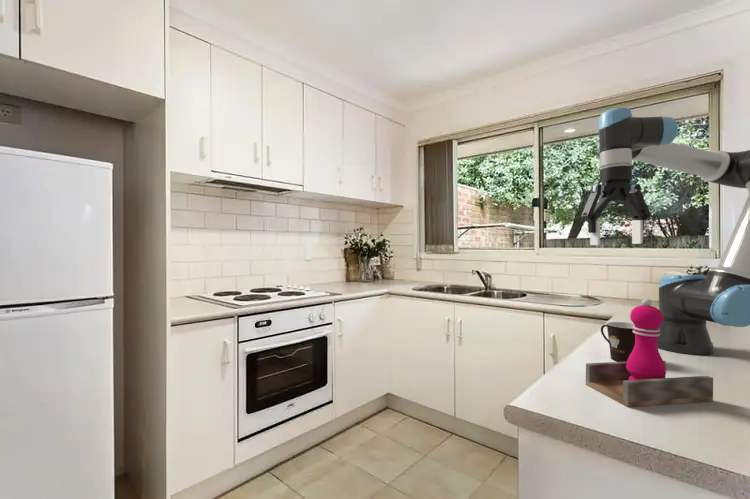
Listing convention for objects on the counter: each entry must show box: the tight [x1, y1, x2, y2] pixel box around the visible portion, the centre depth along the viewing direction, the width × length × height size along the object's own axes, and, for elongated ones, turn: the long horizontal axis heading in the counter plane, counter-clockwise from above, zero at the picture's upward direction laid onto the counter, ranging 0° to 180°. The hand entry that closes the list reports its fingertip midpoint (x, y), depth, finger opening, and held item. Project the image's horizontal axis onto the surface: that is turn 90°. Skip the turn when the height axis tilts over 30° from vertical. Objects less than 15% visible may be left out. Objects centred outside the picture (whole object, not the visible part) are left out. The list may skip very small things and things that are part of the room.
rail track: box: [585, 359, 714, 408], centre depth 85 cm, size 20×12×5 cm, turn 98°
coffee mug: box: [600, 321, 635, 362], centre depth 109 cm, size 12×9×10 cm
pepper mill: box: [626, 298, 667, 380], centre depth 84 cm, size 7×7×20 cm
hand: (616, 244), depth 105 cm, fingers open, 13 cm apart
